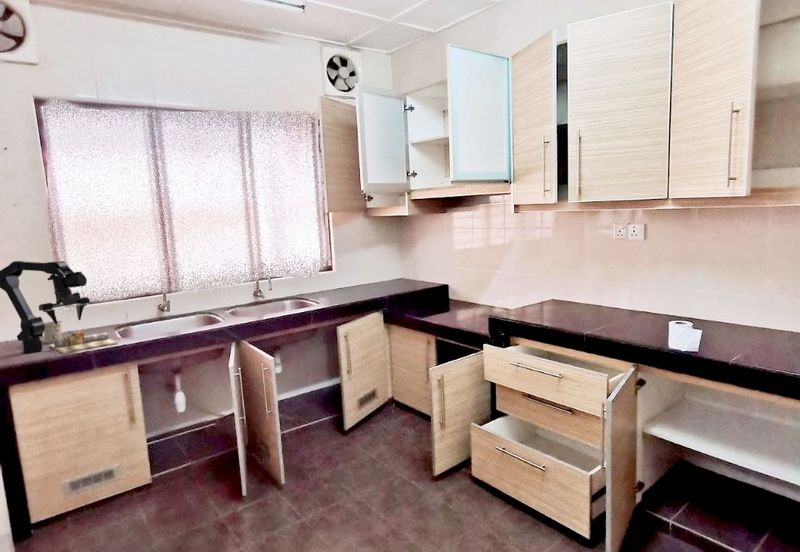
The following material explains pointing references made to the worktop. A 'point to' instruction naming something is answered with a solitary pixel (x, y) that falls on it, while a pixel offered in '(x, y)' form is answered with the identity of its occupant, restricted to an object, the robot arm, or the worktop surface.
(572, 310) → the worktop surface
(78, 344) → the valve board
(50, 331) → the mug
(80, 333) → the valve lever
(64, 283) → the robot arm
